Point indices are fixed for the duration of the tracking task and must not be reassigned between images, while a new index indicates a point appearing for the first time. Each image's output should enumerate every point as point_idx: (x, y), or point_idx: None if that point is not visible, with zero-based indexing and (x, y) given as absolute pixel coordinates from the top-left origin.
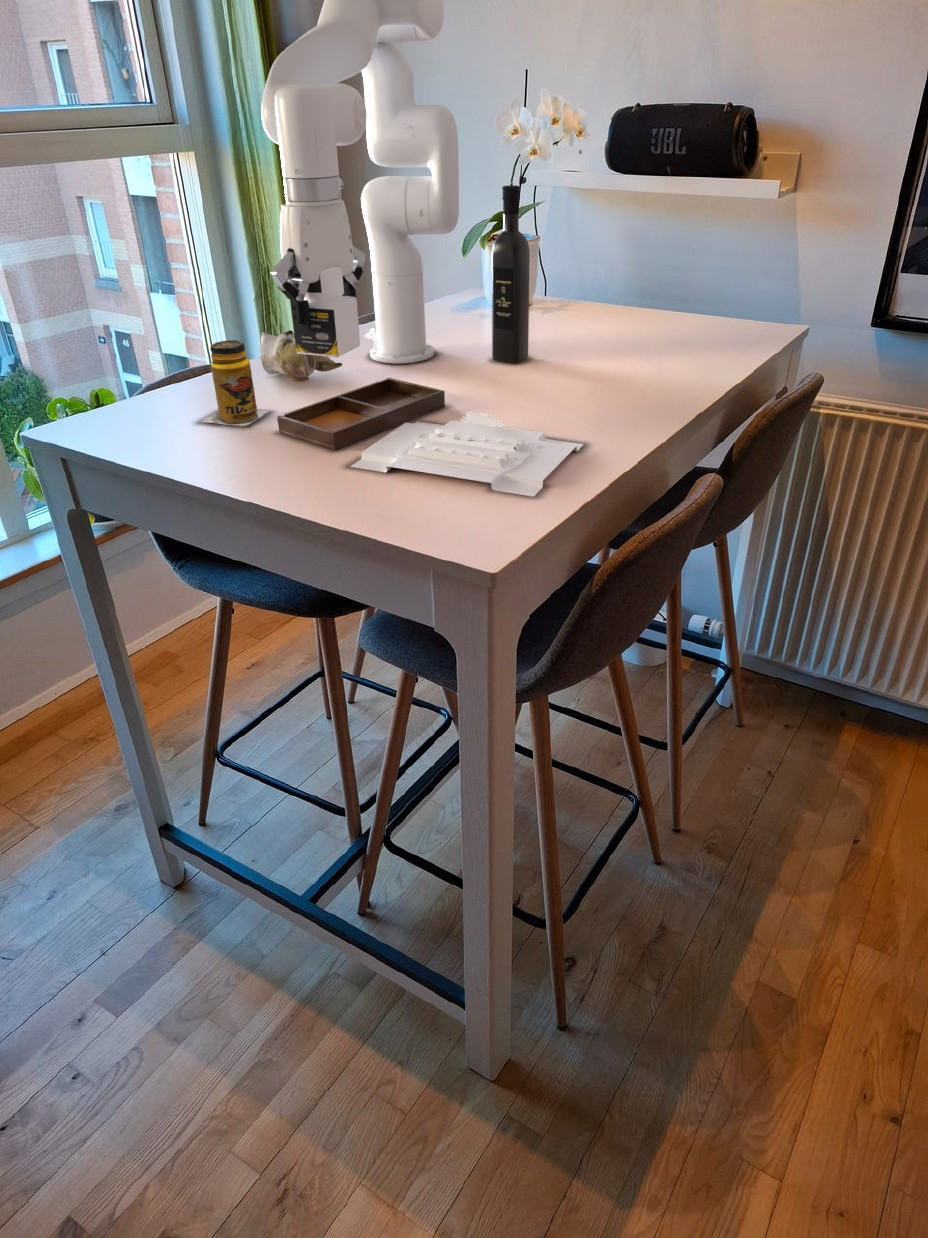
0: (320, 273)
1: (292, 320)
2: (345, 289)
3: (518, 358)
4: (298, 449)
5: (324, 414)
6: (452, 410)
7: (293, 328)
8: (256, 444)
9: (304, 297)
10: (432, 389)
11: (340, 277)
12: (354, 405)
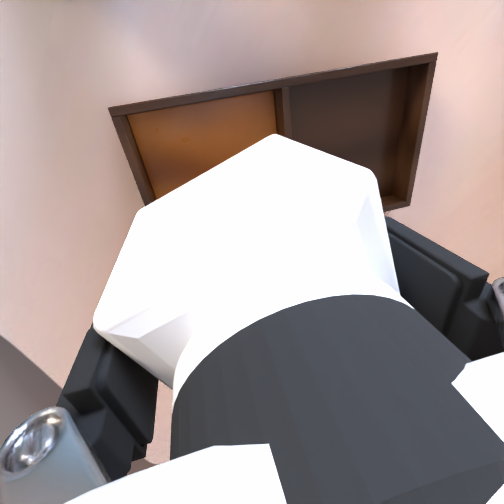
0: None
1: (113, 269)
2: (448, 321)
3: None
4: (119, 210)
5: (233, 99)
6: (384, 216)
7: (121, 250)
8: (50, 134)
9: (126, 475)
10: (407, 186)
11: None
12: None
